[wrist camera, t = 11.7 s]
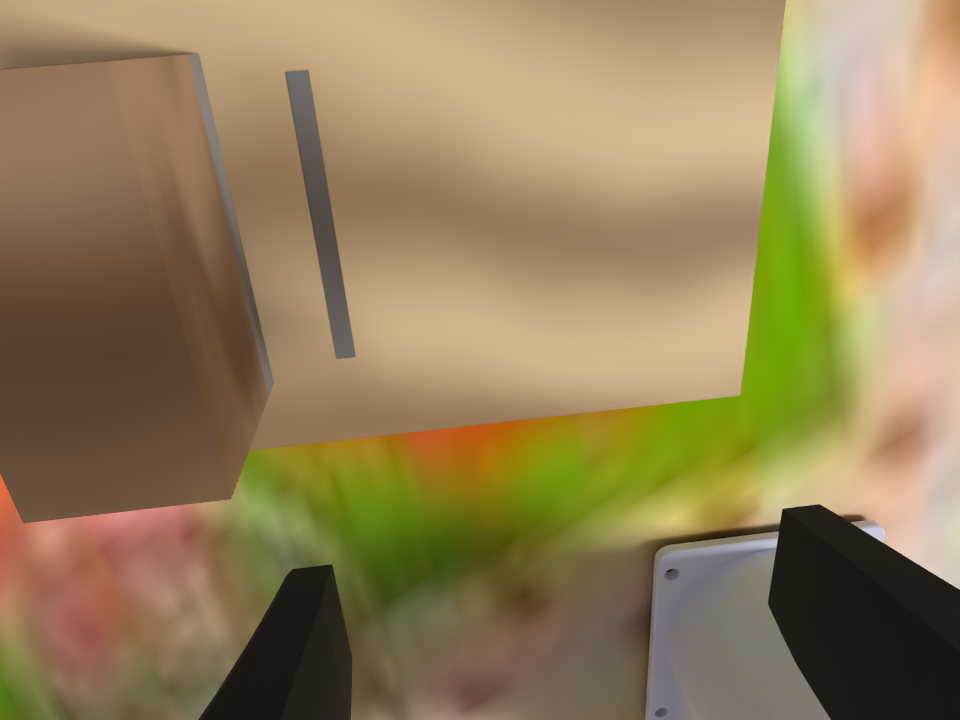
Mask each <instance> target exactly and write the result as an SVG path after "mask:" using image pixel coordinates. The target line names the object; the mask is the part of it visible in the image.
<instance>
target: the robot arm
mask: <svg viewBox="0 0 960 720" xmlns="http://www.w3.org/2000/svg"><path fill="white" fill-rule="evenodd" d="M884 537H885V531H884V529H883V528H882V527H881V526H880V525H879V524H878V522H876V521H874V520H865V521H857V522H849V521H847V520H845V519H844V518H842V517H840V516H839V515H837V514H835V513H834V512H832V511H830V510H828V509H827V508H825V507H823V506H821V505H810V506H802V507H794V508H786V509H783V510H782V516H781V522H780V529H779V531H777V532H769V533H761V534H753V535H745V536H737V537H729V538H721V539H713V540H705V541H697V542H689V543H681V544H673V545H668V546H664V547H662V548H661V549H659V550H658V552H657V553H656V555H655V559H654V577H653V594H652V611H651V628H650V645H649V663H648V680H647V697H646V714H645V720H960V590H959V589H957V588H956V587H954V586H952V585H951V584H949V583H947V582H946V581H944V580H943V579H941V578H939V577H938V576H936V575H934V574H933V573H931V572H929V571H928V570H926V569H924V568H923V567H921V566H920V565H918V564H916V563H915V562H913V561H911V560H910V559H908V558H907V557H905V556H903V555H902V554H900V553H899V552H897V551H895V550H894V549H892V548H891V547H889V546H887V545H886V544H884V543H883V541H884ZM670 569H673V570H672V571H670V572H666V571H668V570H670ZM351 688H352V655H351V651H350V646H349V641H348V637H347V632H346V627H345V623H344V618H343V613H342V609H341V604H340V599H339V595H338V590H337V585H336V581H335V576H334V571H333V567H332V564H331V565H323V566H315V567H307V568H299V569H292V570H291V571H290V572H289V574H288V575H287V576H286V577H285V579H284V581H283V583H282V585H281V587H280V589H279V590H278V592H277V594H276V596H275V598H274V599H273V601H272V603H271V605H270V607H269V608H268V610H267V612H266V614H265V615H264V617H263V619H262V621H261V622H260V624H259V626H258V627H257V629H256V631H255V633H254V634H253V636H252V638H251V639H250V641H249V643H248V644H247V646H246V648H245V649H244V651H243V652H242V654H241V656H240V657H239V659H238V660H237V662H236V663H235V665H234V667H233V668H232V670H231V671H230V673H229V674H228V676H227V678H226V679H225V681H224V682H223V684H222V686H221V687H220V689H219V690H218V692H217V693H216V695H215V696H214V698H213V699H212V701H211V702H210V704H209V705H208V707H207V708H206V709H205V711H204V712H203V714H202V715H201V717H200V718H199V719H198V720H351Z"/></svg>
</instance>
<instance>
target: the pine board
mask: <svg viewBox="0 0 960 720" xmlns="http://www.w3.org/2000/svg"><path fill="white" fill-rule="evenodd" d="M785 2H786V0H0V69H2V68H15V67H28V66H41V65H54V64H67V63H80V62H93V61H106V60H120V59H133V58H146V57H159V56H172V55H185V54H198V53H199V57H200V61H201V66H202V70H203V74H204V79H205V83H206V88H207V92H208V96H209V101H210V105H211V110H212V114H213V118H214V123H215V127H216V131H217V136H218V140H219V145H220V149H221V153H222V158H223V162H224V167H225V171H226V175H227V180H228V184H229V188H230V193H231V197H232V202H233V206H234V210H235V215H236V219H237V224H238V228H239V232H240V237H241V241H242V245H243V250H244V254H245V259H246V263H247V267H248V272H249V276H250V281H251V285H252V289H253V294H254V298H255V302H256V307H257V311H258V316H259V320H260V324H261V329H262V333H263V338H264V342H265V346H266V351H267V355H268V359H269V364H270V368H271V373H272V377H273V381H274V385H273V387H272V390H271V393H270V395H269V398H268V401H267V403H266V406H265V409H264V412H263V414H262V417H261V420H260V422H259V425H258V428H257V430H256V433H255V436H254V438H253V441H252V444H251V446H250V449H249V450H257V449H266V448H275V447H284V446H293V445H302V444H311V443H320V442H329V441H338V440H347V439H356V438H365V437H373V436H382V435H391V434H400V433H409V432H418V431H427V430H436V429H445V428H454V427H463V426H472V425H481V424H489V423H498V422H507V421H516V420H525V419H534V418H543V417H552V416H561V415H570V414H579V413H588V412H597V411H606V410H614V409H623V408H632V407H641V406H650V405H659V404H668V403H677V402H686V401H695V400H704V399H713V398H722V397H730V396H739V395H741V386H742V377H743V369H744V360H745V351H746V342H747V334H748V325H749V316H750V307H751V299H752V290H753V281H754V273H755V264H756V255H757V246H758V238H759V229H760V220H761V211H762V203H763V194H764V185H765V177H766V168H767V159H768V150H769V142H770V133H771V124H772V115H773V107H774V98H775V89H776V80H777V72H778V63H779V54H780V46H781V37H782V28H783V19H784V11H785Z"/></svg>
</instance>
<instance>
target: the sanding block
mask: <svg viewBox="0 0 960 720" xmlns="http://www.w3.org/2000/svg"><path fill="white" fill-rule="evenodd" d="M273 385H274V381H273V377H272V373H271V368H270V364H269V359H268V355H267V351H266V346H265V342H264V338H263V333H262V329H261V324H260V320H259V316H258V311H257V307H256V302H255V298H254V294H253V289H252V285H251V281H250V276H249V272H248V267H247V263H246V259H245V254H244V250H243V245H242V241H241V237H240V232H239V228H238V224H237V219H236V215H235V210H234V206H233V202H232V197H231V193H230V188H229V184H228V180H227V175H226V171H225V167H224V162H223V158H222V153H221V149H220V145H219V140H218V136H217V131H216V127H215V123H214V118H213V114H212V110H211V105H210V101H209V96H208V92H207V88H206V83H205V79H204V74H203V70H202V66H201V61H200V57H199V53H198V54H185V55H172V56H159V57H146V58H133V59H120V60H106V61H93V62H80V63H67V64H54V65H41V66H28V67H15V68H2V69H0V474H1V476H2V478H3V480H4V482H5V484H6V487H7V489H8V491H9V493H10V495H11V498H12V500H13V502H14V504H15V506H16V508H17V511H18V513H19V515H20V517H21V519H22V522H23V523H30V522H38V521H47V520H55V519H64V518H73V517H81V516H90V515H98V514H107V513H116V512H124V511H133V510H141V509H150V508H159V507H167V506H176V505H184V504H193V503H202V502H210V501H219V500H227V499H231V498H232V495H233V492H234V489H235V487H236V484H237V481H238V479H239V476H240V473H241V471H242V468H243V465H244V463H245V460H246V457H247V455H248V452H249V449H250V446H251V444H252V441H253V438H254V436H255V433H256V430H257V428H258V425H259V422H260V420H261V417H262V414H263V412H264V409H265V406H266V403H267V401H268V398H269V395H270V393H271V390H272V387H273Z"/></svg>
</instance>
